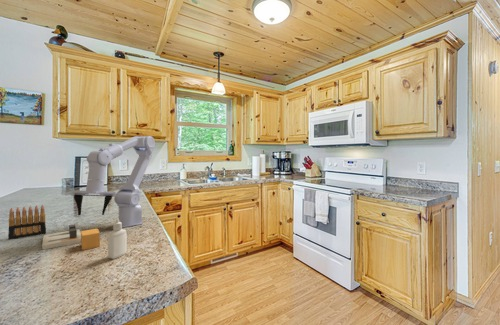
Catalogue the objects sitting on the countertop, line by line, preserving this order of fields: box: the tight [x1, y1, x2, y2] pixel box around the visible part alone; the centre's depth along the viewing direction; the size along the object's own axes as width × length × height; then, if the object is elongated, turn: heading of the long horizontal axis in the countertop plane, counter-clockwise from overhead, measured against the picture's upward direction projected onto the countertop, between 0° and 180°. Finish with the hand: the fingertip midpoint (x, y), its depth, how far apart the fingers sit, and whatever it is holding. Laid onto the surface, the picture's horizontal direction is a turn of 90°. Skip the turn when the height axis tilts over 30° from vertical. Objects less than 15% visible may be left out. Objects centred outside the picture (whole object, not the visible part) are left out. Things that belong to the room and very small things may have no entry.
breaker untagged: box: [68, 224, 77, 234], centre depth 90 cm, size 2×3×3 cm, turn 40°
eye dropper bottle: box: [107, 218, 128, 260], centre depth 73 cm, size 4×6×12 cm
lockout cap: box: [80, 228, 101, 251], centre depth 81 cm, size 5×6×5 cm
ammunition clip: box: [7, 204, 47, 241], centre depth 90 cm, size 11×2×12 cm, turn 129°
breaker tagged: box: [68, 227, 78, 239], centre depth 85 cm, size 2×3×3 cm, turn 40°
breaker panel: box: [41, 229, 81, 251], centre depth 86 cm, size 11×13×2 cm
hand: (91, 214), depth 89 cm, fingers open, 7 cm apart
